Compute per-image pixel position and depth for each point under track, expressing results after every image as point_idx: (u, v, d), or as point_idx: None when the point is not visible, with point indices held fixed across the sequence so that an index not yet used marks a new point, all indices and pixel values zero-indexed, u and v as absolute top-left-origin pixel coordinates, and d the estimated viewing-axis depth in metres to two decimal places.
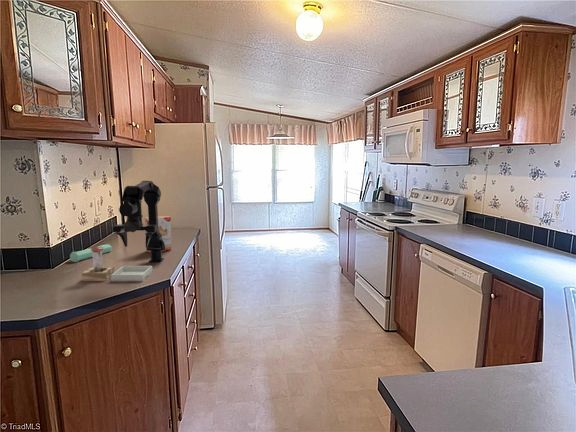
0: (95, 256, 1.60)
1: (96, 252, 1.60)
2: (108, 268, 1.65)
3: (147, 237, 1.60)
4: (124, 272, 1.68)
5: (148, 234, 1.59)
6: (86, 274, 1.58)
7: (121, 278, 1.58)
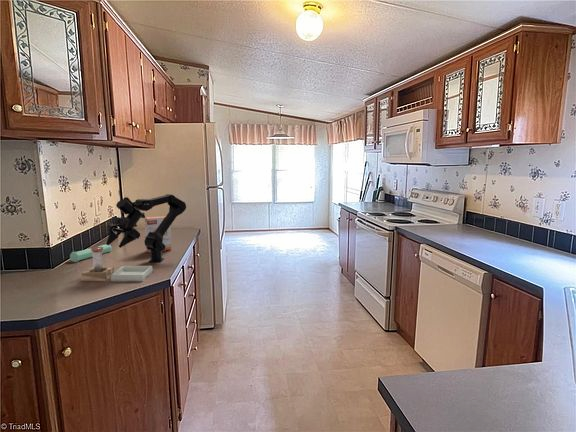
0: (95, 256, 1.60)
1: (96, 252, 1.60)
2: (108, 268, 1.65)
3: (124, 237, 1.67)
4: (124, 272, 1.68)
5: (126, 233, 1.66)
6: (86, 274, 1.58)
7: (121, 278, 1.58)
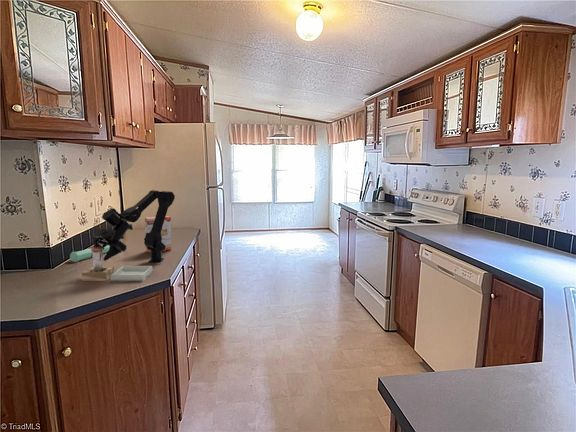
0: (95, 256, 1.60)
1: (96, 252, 1.60)
2: (108, 268, 1.65)
3: (109, 250, 1.61)
4: (124, 272, 1.68)
5: (111, 246, 1.60)
6: (86, 274, 1.58)
7: (121, 278, 1.58)
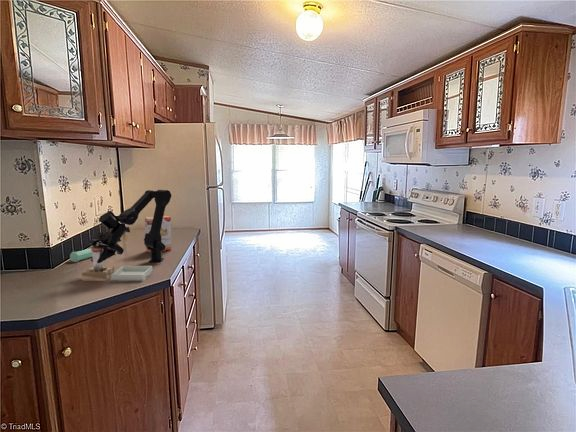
0: (95, 256, 1.60)
1: (96, 252, 1.60)
2: (108, 268, 1.65)
3: (103, 252, 1.61)
4: (124, 272, 1.68)
5: (105, 249, 1.60)
6: (86, 274, 1.58)
7: (121, 278, 1.58)
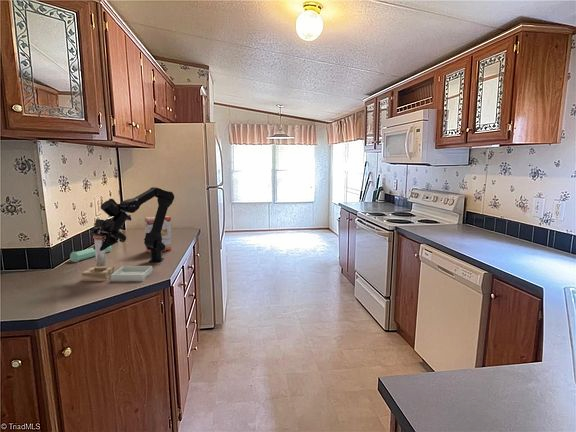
0: (97, 244, 1.59)
1: (99, 240, 1.59)
2: (108, 268, 1.65)
3: (105, 240, 1.60)
4: (124, 272, 1.68)
5: (107, 236, 1.60)
6: (86, 274, 1.58)
7: (121, 278, 1.58)
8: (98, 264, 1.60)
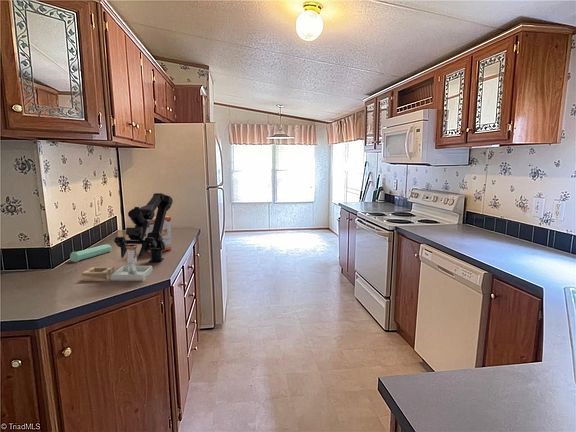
0: (132, 253, 1.62)
1: (133, 249, 1.62)
2: (108, 268, 1.65)
3: (142, 247, 1.64)
4: (124, 272, 1.68)
5: (144, 243, 1.64)
6: (86, 274, 1.58)
7: (121, 278, 1.58)
8: None
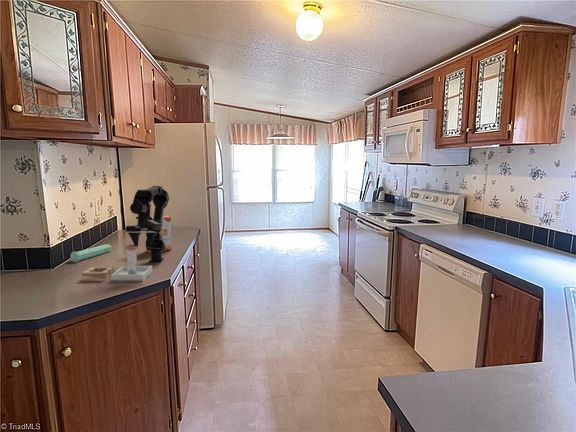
0: (132, 253, 1.62)
1: (133, 249, 1.62)
2: (108, 268, 1.65)
3: (153, 237, 1.77)
4: (124, 272, 1.68)
5: (156, 233, 1.78)
6: (86, 274, 1.58)
7: (121, 278, 1.58)
8: None
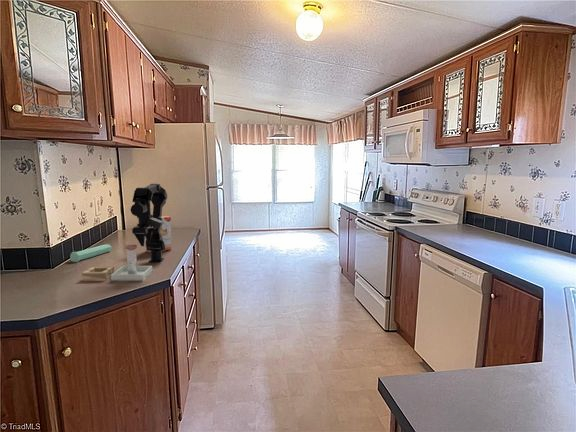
0: (132, 253, 1.62)
1: (133, 249, 1.62)
2: (108, 268, 1.65)
3: (151, 232, 1.79)
4: (124, 272, 1.68)
5: (154, 229, 1.80)
6: (86, 274, 1.58)
7: (121, 278, 1.58)
8: None
